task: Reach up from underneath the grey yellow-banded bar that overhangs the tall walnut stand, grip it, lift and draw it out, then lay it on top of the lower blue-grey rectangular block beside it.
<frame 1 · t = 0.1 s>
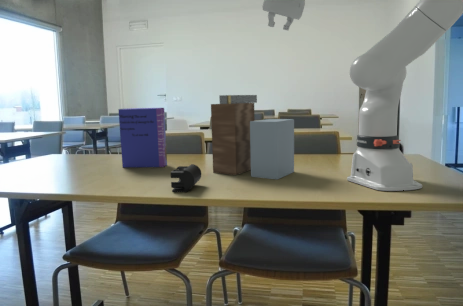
hand: (278, 28, 132), 52 cm above the table, tool tilted 20°, fingers open, 8 cm apart
tall walnut stand: (234, 170, 135), on the table
blue book: (145, 166, 149), on the table
blue-grey rectangular block: (273, 174, 127), on the table
grey yellow-banded bar: (239, 103, 135), point 25 cm above the table, touching tall walnut stand
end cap: (187, 189, 110), on the table
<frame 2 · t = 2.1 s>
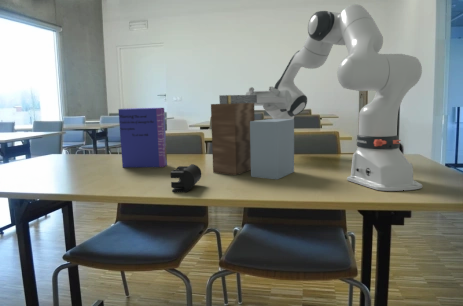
hand: (260, 88, 149), 31 cm above the table, tool pointing upward, fingers open, 8 cm apart
nothing on the table moved.
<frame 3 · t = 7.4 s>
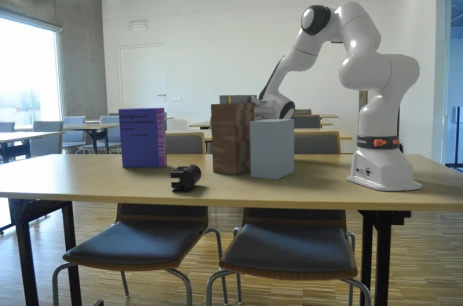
hand: (246, 97, 139), 27 cm above the table, tool pointing upward, fingers closed on grey yellow-banded bar, 3 cm apart
grey yellow-banded bar: (239, 103, 135), point 25 cm above the table, touching gripper, tall walnut stand
everything else where it was.
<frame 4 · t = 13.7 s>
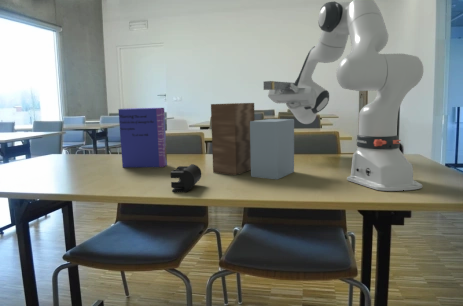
hand: (285, 85, 146), 32 cm above the table, tool pointing upward, fingers closed on grey yellow-banded bar, 3 cm apart
grey yellow-banded bar: (279, 89, 142), point 30 cm above the table, touching gripper
everything else where it was.
when the fingers open (22 cm above the table, at t = 20.3 s): grey yellow-banded bar drops 2 cm, resting on blue-grey rectangular block.
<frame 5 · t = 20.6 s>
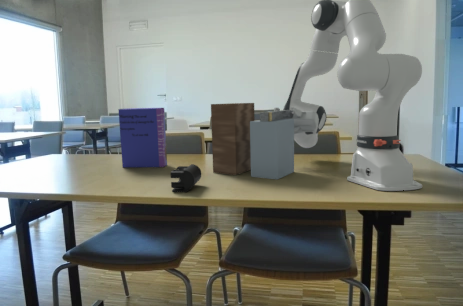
hand: (284, 109, 132), 22 cm above the table, tool pointing upward, fingers open, 5 cm apart
grey yellow-banded bar: (278, 119, 128), point 19 cm above the table, touching blue-grey rectangular block
everything else where it was.
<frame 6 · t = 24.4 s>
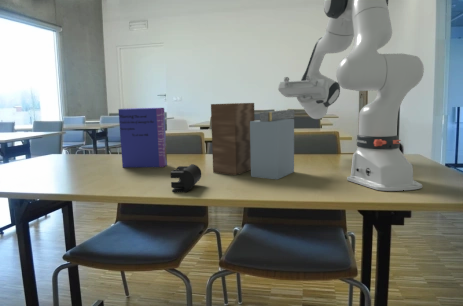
hand: (296, 77, 140), 34 cm above the table, tool pointing upward, fingers open, 8 cm apart
nothing on the table moved.
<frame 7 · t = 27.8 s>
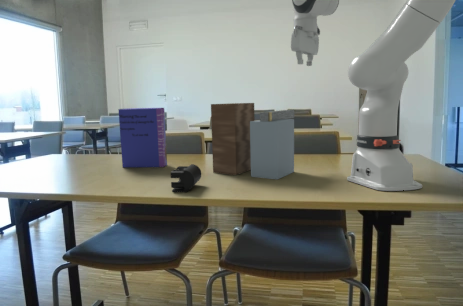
hand: (304, 65, 141), 39 cm above the table, tool pointing down, fingers open, 8 cm apart
nothing on the table moved.
at the end: grey yellow-banded bar inside the target area on the blue-grey rectangular block (0.1 cm from its centre), point 19.0 cm above the blue-grey rectangular block's base; grey yellow-banded bar touching blue-grey rectangular block; the gripper is holding nothing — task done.
